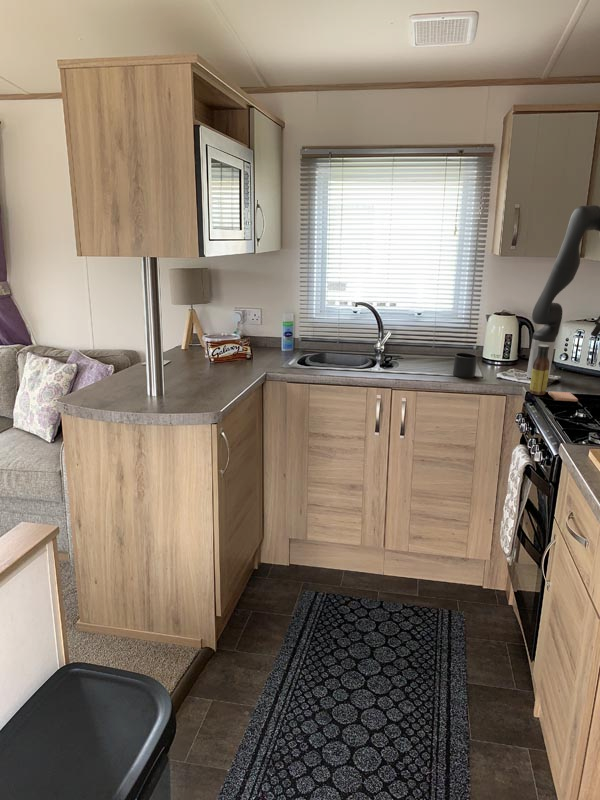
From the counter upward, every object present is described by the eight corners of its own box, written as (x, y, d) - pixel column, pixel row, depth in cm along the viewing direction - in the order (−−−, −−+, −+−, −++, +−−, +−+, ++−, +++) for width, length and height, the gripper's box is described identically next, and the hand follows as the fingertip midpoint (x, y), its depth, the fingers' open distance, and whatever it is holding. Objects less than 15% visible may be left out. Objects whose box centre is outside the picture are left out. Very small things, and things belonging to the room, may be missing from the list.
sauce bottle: (541, 391, 248) (549, 343, 242) (548, 396, 242) (556, 347, 236) (525, 391, 248) (533, 343, 242) (531, 395, 242) (540, 346, 236)
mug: (468, 371, 274) (471, 351, 272) (477, 378, 263) (480, 358, 260) (448, 370, 274) (450, 351, 271) (456, 378, 262) (459, 357, 260)
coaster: (548, 393, 246) (548, 391, 245) (569, 394, 245) (570, 392, 245) (555, 400, 238) (555, 397, 237) (577, 401, 237) (577, 399, 237)
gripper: (624, 292, 228) (598, 329, 236) (607, 292, 219) (581, 330, 227) (641, 303, 223) (615, 340, 232) (625, 303, 214) (598, 341, 223)
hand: (598, 335), depth 230 cm, fingers open, 8 cm apart
